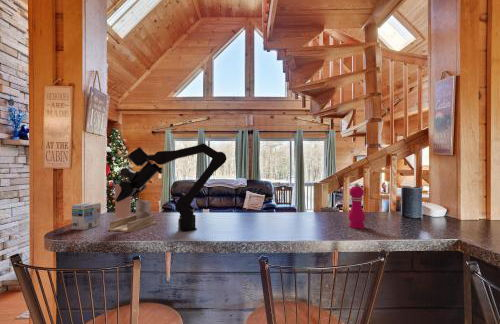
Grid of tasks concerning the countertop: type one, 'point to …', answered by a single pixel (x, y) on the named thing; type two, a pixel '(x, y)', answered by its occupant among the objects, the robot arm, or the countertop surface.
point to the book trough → (135, 219)
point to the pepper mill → (356, 208)
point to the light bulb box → (86, 215)
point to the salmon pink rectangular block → (122, 205)
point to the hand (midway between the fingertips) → (119, 200)
